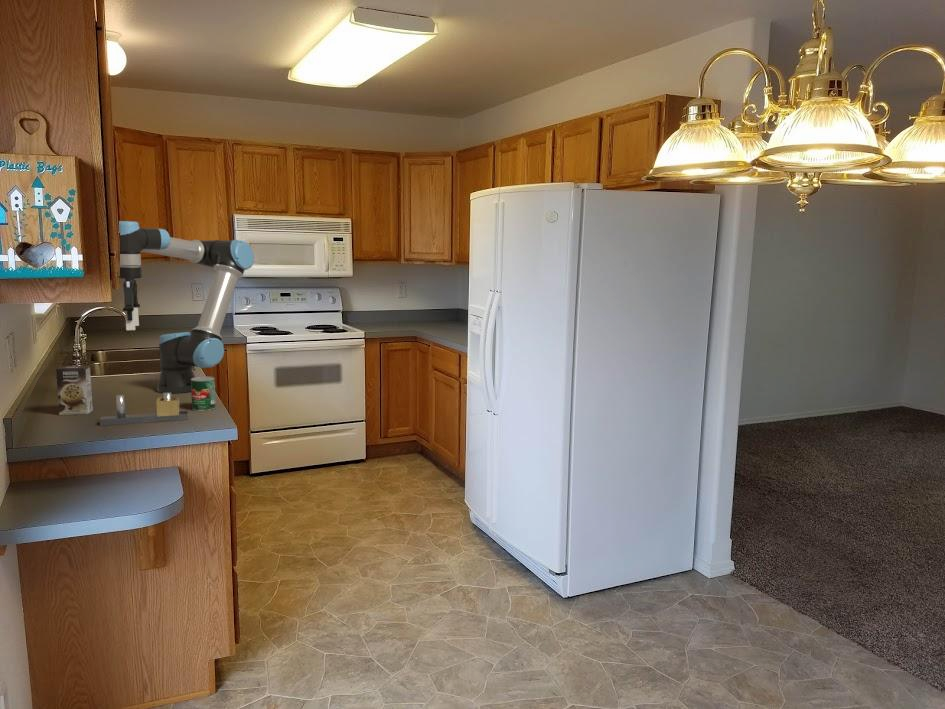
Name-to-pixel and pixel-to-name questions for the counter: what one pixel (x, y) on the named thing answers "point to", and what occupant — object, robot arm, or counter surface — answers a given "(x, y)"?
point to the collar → (168, 406)
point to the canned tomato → (203, 393)
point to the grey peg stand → (139, 418)
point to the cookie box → (74, 390)
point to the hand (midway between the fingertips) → (132, 328)
